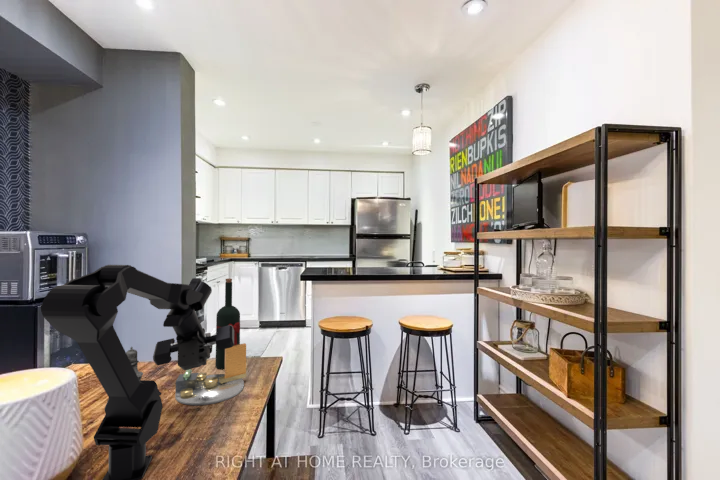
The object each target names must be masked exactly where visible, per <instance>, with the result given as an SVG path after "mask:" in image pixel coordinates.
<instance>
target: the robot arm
mask: <svg viewBox="0 0 720 480" xmlns="http://www.w3.org/2000/svg"><path fill="white" fill-rule="evenodd" d="M212 290H213V289H212V287H211V286H210V285H209V284H208V283H206V282H204V281H202V280H201V278H200V277H198V278H195V277H193V278H191V280H190V282H189V284H186V283H172V282H167V281H164V280H163V279H160V278H158V277H155V276H153V275H150V274H148V273H146V272H143V271H141V270H138V269H137V268H136V267H135V266H132V265H129V264H107V265H104V266H101V267H99V268H98V269H96V270H94V271H93V272H90V273H87V274H85V275H83V276H82V275H81V276H78V277H76V278H73V279H71V280H69V281H67V282H66V283H64V284H60V285H56V286H55V287H53V288H52V289H50V290H49V291H48V292H47V293H46V296H44V299H43V300H42V304H41V305H40V311H41V315H42V317H43V318H44V319H45V320H46V321H47V322H48V323H49V324H50V325H51V327H53V329H54V330H55V331H57V332H59V333H61V334H63V335H65V336H66V337H69V338H70V339H72V340H73V341H75V342H76V344H77V345H78V347H79V349H80V350H81V351H82V354H83V355H84V357H85V359H86V361H87V362H88V364H89V365H90V367H91V369H92V371H93V373H94V375H95V376H96V378H97V379H98V381H99V384H100V385H101V386H102V388H103V390H104V391H105V393H106V395H107V398H108V399H107V402H106V403H105V406H104V409H103V410H104V413H105V414H104V417H103V418H102V420H101V422H100V424H99V425H98V428H97V430H96V431H95V433H94V435H93V441H94V443H95V446H108V470H107V471H106V473H105V474H104V475H103V478H102V479H101V480H142V479H143V477H144V476H145V473H146V471H147V470H148V467H149V465H150V463H151V461H152V457H153V455H151V454H150V455H147V450H146V449H147V448H146V447H147V442H149V440H151V439H152V438H153V437H154V436H156V434H157V433H158V431H159V426H160V422H161V421H160V420H161V416H162V413H163V402H162V401H163V400H162V397H161V395H162V392H161V391H160V390H159V388H158V384H157V383H156V381H155V380H147V379H145V380H144V379H141V380H139V379H138V377H137V375H136V373H135V371H134V368H133V366H132V364H131V362H130V360H129V358H128V356H127V354H126V352H127V351H125V348H124V346H123V343H122V341H121V340H120V338H119V335H118V334H117V332H116V329H115V327H114V323H115V320H116V317H117V315H118V314H119V313H118V312H119V310H118V307H119V306H120V305H121V304H122V303H123V302H125V301H126V300H127V295H128V294H129V295H130V294H131V295H134V296H137V297H141V298H143V299H147V300H149V304H150V305H151V306H153V307H154V308H156V309H158V310H169V312H168V313H167V314H166V317H165V319H164V321H163V324H162V326H163V327H164V328H167V327H168V328H172V329H173V331H174V332H175V335H176V338H169V339H164V340H160V341H157V342H156V343H155V348H154V351H153V356H152V360H153V362H154V364H155V365H156V366H162V365H165V364H169V363H171V361H172V359H173V358H172V356H171V354H172V353H177V366H178V367H179V368H180V369H182V370H183V371H186V370H189V369H191V370H192V369H195V368H201V367H202V366H206V365H207V361H208V359H210V358H211V353H212V352H213V345H215V347H216V346H217V348H218V349H221V350H223V349H227V348H231V347H233V346H234V328H233V326H231V325H228V326H224V327H220V328H217V329H216V328H215V329H216V330H215V331H216V332H215V334H213V335H211V334H212V333H211V332H207V333H206V329H205V328H203V326H202V324H201V317H198V315H197V312H199V311H202V309H203V308H204V306H205V305H206V303H207V302H208V299H209V297H210V296H211V295H212ZM175 341H176V342H175Z"/></svg>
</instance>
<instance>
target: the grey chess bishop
mask: <svg viewBox="0 0 720 480" xmlns="http://www.w3.org/2000/svg"><path fill="white" fill-rule="evenodd" d="M125 352H126V354H127V356H128V358H129V360H130V362H131V364H132V366H133V368H134V371H135V373H136V375H137V377H138V379H139V380H142V377H143V376H144V372H143V371H139V368H138V366H139V365H138V363H139V360H138V350H137V349H134V348H133V346H131V347H129V349H128V350H127V351H125Z"/></svg>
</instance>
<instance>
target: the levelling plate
mask: <svg viewBox="0 0 720 480" xmlns="http://www.w3.org/2000/svg"><path fill="white" fill-rule="evenodd" d="M222 376H225V373H215V374H208V375H207V372H193V370H192V369H189V370H185V372H184V373H181V374H178V377H177V379H176V380H175V391H174V392H175V394H174V395H175V396H174V397H175V398H174V399H175V400H176V402H178V403H180V404H181V405H184V406H185V405H186V406H194V407H195V406H196V407H198V406H199V407H200V406H207V405H208V406H209V405H214V404H218V403H221V402H225V401H227V400H228V401H229V400H231V399H232V398H234V397H236V396H237V395H239V394H240V393H242V391H243V389H244V387H245V381H244V378H241V379H237V380H233V381H229V382H226V383H222V384H221V383H220V382H219V377H222ZM210 377H216V378H218V384H217V385H216V386H214V387H210V388H206V387H204V380H205V379H207V378H210Z"/></svg>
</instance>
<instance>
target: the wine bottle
mask: <svg viewBox="0 0 720 480" xmlns="http://www.w3.org/2000/svg"><path fill="white" fill-rule="evenodd" d="M224 285H225V286H224V287H225V289H224V291H225V293H224V294H225V296H224V306H222V307H221V308H219V310H217V313H216V322H215V323H216V326H215V329H217V328H220V327H224V326H228V325H231V326H233V328H234V345H238V344H241V341H240V340H241V313H240V310H239V308H237V307H236V306H234V305H233V278H225V284H224ZM214 366H215V368H216V369H218V370H225V349H223V350H221V349H218V348H217V346H216V345H215V365H214Z"/></svg>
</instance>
